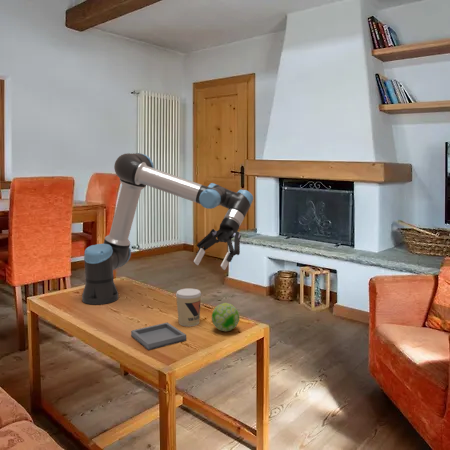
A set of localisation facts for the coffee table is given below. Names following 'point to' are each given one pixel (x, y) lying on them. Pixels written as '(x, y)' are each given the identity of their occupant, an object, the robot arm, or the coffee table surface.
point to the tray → (158, 336)
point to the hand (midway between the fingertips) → (208, 265)
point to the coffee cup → (188, 306)
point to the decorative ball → (225, 317)
